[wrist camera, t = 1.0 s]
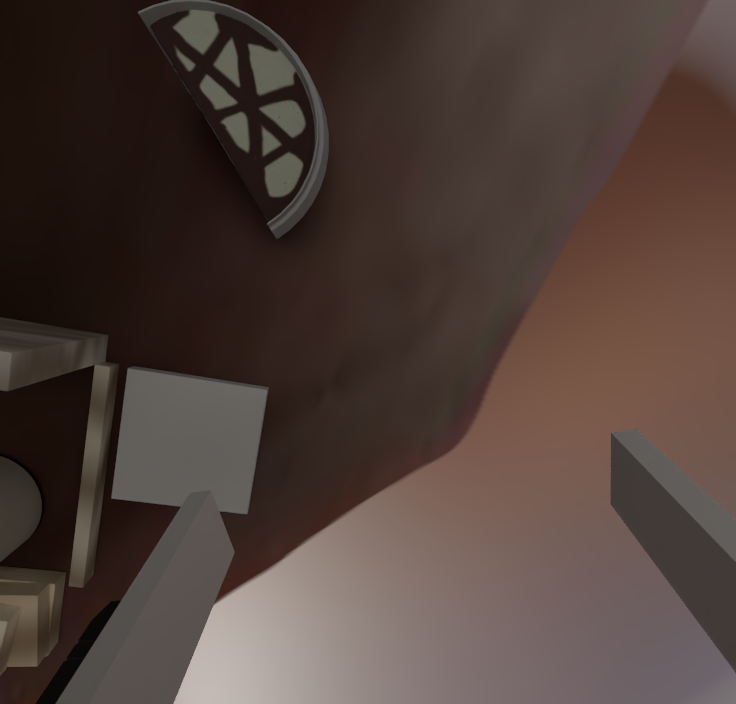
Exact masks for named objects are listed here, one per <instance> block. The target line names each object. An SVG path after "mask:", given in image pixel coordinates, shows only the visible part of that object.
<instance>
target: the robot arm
mask: <svg viewBox="0 0 736 704" xmlns="http://www.w3.org/2000/svg"><path fill="white" fill-rule="evenodd" d="M611 505H612V506H613V508H614V509H615V511H616V512H617V513H618V514H619V516H620V517H621V518H622V520H623V521H624V523H625V524H626V525H627V527H628V528H629V529H630V531H631V532H632V533H633V535H634V536H635V537H636V539H637V540H638V542H639V543H640V544H641V545H642V547H643V548H644V550H645V551H646V552H647V553H648V555H649V556H650V558H651V559H652V560H653V562H654V563H655V564H656V566H657V567H658V568H659V570H660V571H661V572H662V574H663V575H664V577H665V578H666V579H667V581H668V582H669V583H670V585H671V586H672V587H673V589H674V590H675V591H676V593H677V594H678V595H679V597H680V598H681V599H682V601H683V602H684V604H685V605H686V606H687V608H688V609H689V610H690V612H691V613H692V614H693V616H694V617H695V618H696V620H697V621H698V622H699V624H700V625H701V626H702V628H703V629H704V630H705V632H706V633H707V634H708V636H709V637H710V639H711V640H712V641H713V642H714V644H715V645H716V647H717V648H718V649H719V651H720V652H721V653H722V654H723V656H724V657H725V659H726V660H727V661H728V662H729V664H730V665H731V666H732V668H733V669H734V671H735V672H736V520H735V519H734V518H733V517H732V516H731V515H729V514H728V513H727V512H726V511H725V510H724V509H723V508H722V507H721V506H720V505H719V504H717V503H716V502H715V501H714V500H713V499H712V498H711V497H710V496H709V495H708V494H707V493H706V492H704V491H703V490H702V489H701V488H700V487H699V486H698V485H697V484H696V483H695V482H694V481H693V480H691V479H690V478H689V477H688V476H687V475H686V474H685V473H684V472H683V471H682V470H680V469H679V468H678V467H677V466H676V465H675V464H674V463H673V462H672V461H671V460H670V459H669V458H667V457H666V456H665V455H664V454H663V453H662V452H661V451H660V450H659V449H658V448H657V447H655V446H654V445H653V444H652V443H651V442H650V441H649V440H648V439H647V438H646V437H645V436H644V435H642V434H641V433H640V432H639V431H638V430H637V429H635V430H629V431H621V432H615V433H611ZM234 553H235V552H234V549H233V547H232V544H231V541H230V539H229V536H228V533H227V531H226V528H225V526H224V523H223V520H222V518H221V515H220V512H219V510H218V507H217V504H216V502H215V499H214V497H213V494H212V491H211V490H208V491H201V492H194V493H189V495H188V497H187V498H186V500H185V501H184V503H183V504H182V506H181V508H180V509H179V511H178V512H177V514H176V515H175V517H174V519H173V520H172V522H171V523H170V525H169V526H168V528H167V530H166V531H165V533H164V534H163V536H162V537H161V539H160V541H159V542H158V544H157V545H156V547H155V548H154V550H153V552H152V553H151V555H150V556H149V558H148V559H147V561H146V563H145V564H144V566H143V567H142V569H141V570H140V572H139V574H138V575H137V577H136V578H135V580H134V581H133V583H132V585H131V586H130V588H129V589H128V591H127V592H126V594H125V596H124V597H123V599H122V600H120V601H112V602H110V603H109V604H108V605H107V606H106V607H105V608H104V609H103V610H102V611H101V612H100V613H99V614H98V615H97V616H96V617H95V618H94V619H93V620H92V621H91V623H90V624H89V625H88V627H87V628H86V630H85V631H84V633H83V634H82V636H81V637H80V639H79V643H78V644H76V645H75V646H74V648H73V649H72V651H71V652H70V654H69V655H68V657H67V661H65V662H63V664H62V665H61V667H60V668H59V670H58V671H57V673H56V674H55V676H54V677H53V679H52V680H51V682H50V683H49V685H48V686H47V688H46V689H45V691H44V692H43V694H42V695H41V696H40V698H39V699H38V701H37V702H36V704H173V703H174V701H175V698H176V696H177V693H178V691H179V688H180V686H181V683H182V681H183V678H184V676H185V673H186V671H187V668H188V666H189V664H190V661H191V659H192V656H193V654H194V651H195V649H196V646H197V644H198V641H199V639H200V637H201V634H202V632H203V629H204V627H205V624H206V622H207V619H208V617H209V614H210V611H211V609H212V607H213V605H214V602H215V600H216V597H217V595H218V592H219V590H220V587H221V585H222V582H223V580H224V577H225V575H226V573H227V570H228V568H229V565H230V563H231V560H232V558H233V555H234Z"/></svg>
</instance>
